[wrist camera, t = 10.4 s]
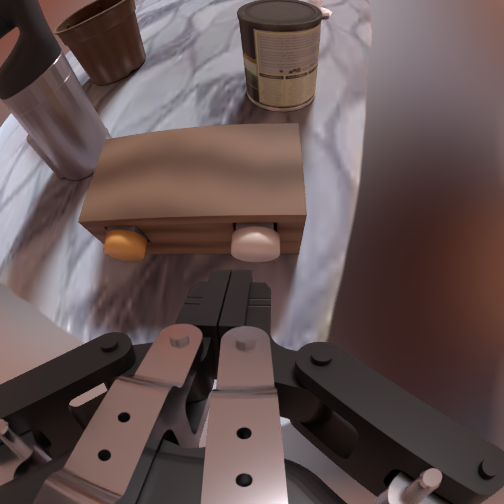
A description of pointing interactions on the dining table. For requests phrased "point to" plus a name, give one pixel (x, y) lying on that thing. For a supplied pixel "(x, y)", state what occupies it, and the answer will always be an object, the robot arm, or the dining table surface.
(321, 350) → the robot arm
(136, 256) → the amber button
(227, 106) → the dining table surface
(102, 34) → the plant pot
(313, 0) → the teacup and saucer
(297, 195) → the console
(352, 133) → the dining table surface
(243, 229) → the ivory button
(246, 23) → the coffee can
